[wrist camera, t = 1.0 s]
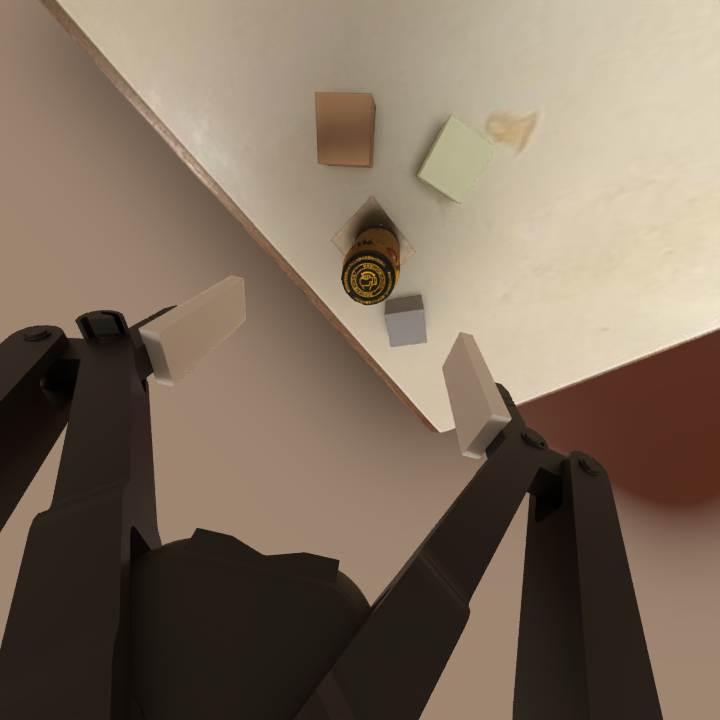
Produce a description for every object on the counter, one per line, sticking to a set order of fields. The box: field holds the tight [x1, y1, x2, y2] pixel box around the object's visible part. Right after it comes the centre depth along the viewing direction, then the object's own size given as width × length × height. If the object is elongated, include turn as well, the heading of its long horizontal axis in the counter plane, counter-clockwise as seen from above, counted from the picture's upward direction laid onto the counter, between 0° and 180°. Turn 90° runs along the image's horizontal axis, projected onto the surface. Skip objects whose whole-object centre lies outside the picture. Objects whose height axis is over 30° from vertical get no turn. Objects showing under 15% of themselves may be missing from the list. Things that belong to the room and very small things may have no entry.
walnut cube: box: [315, 92, 376, 168], centre depth 26 cm, size 5×5×5 cm
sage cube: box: [416, 114, 497, 204], centre depth 26 cm, size 5×5×5 cm
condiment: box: [331, 196, 415, 305], centre depth 29 cm, size 7×8×12 cm
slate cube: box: [385, 295, 427, 347], centre depth 37 cm, size 5×5×5 cm
